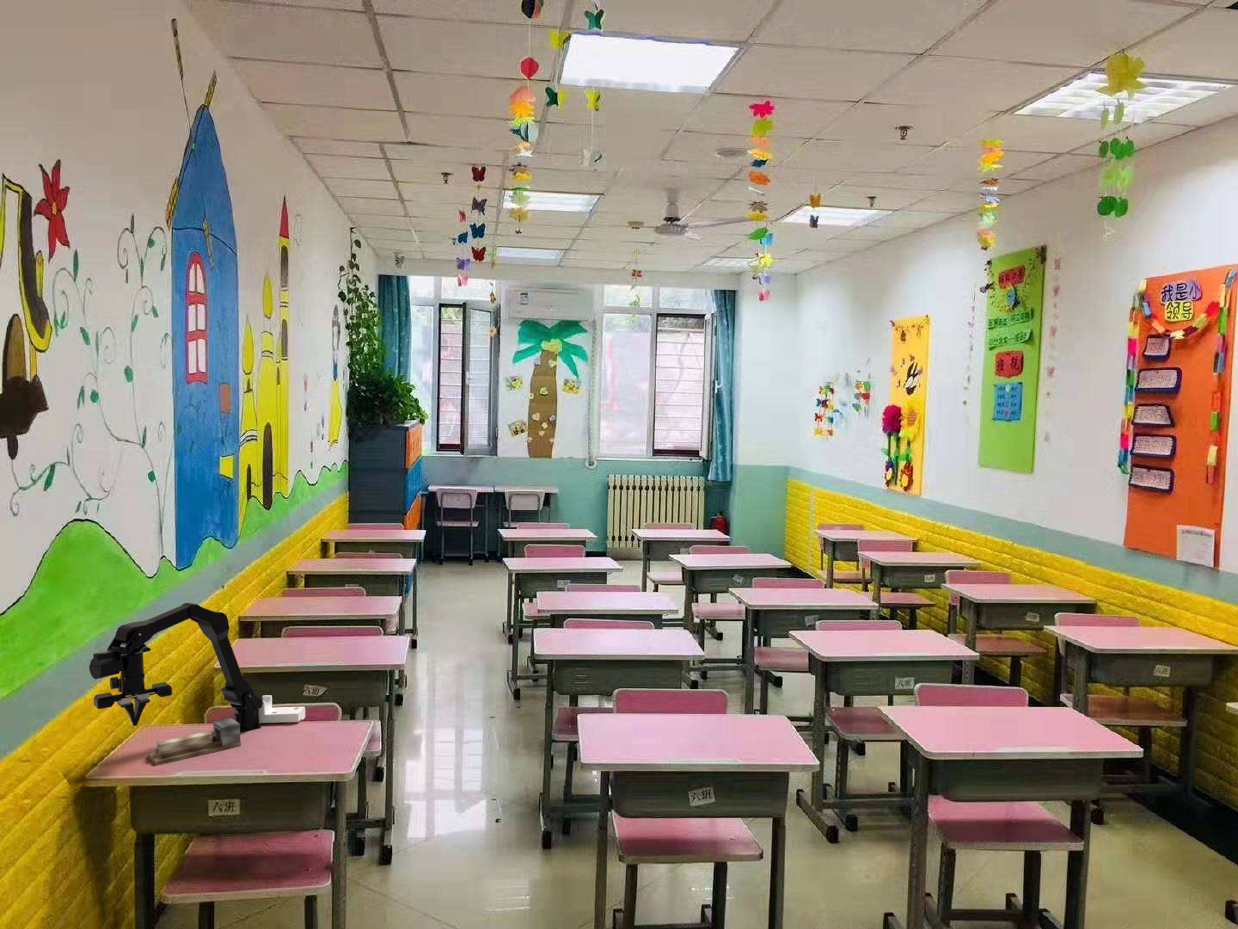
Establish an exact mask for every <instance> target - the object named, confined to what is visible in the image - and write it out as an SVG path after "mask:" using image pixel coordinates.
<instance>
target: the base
mask: <svg viewBox="0 0 1238 929" xmlns="http://www.w3.org/2000/svg"><path fill="white" fill-rule="evenodd" d="M212 724H213V727H212V728H213V735H212V743H207V744H203V745H199V746H194V747H190V748H185V749H181V750H176V751H172V752H167V753H163V754H161V757H160V756H159V755H158V748H156V749H155V750H156V751H153V752H148V753H147V758H148V759H149V760H150V761H151V762H152V763H153V764H154V765H155V766H160V765H163V764H164V763H165V764H169V763H173V762H177V760H178V761H182V760H185V759H191V758H194V757H198V756H203V755H207V754H212V753H216V752H220V751H225V750H228V749H234V748H238V747H241V746H242V741H241V732H240V724H239V723H238V722H236V721H235V720H234V719H233V718H232V717H225V718H222V719H216V720H213V722H212ZM172 761H173V762H172ZM168 762H169V763H168ZM159 764H160V765H159ZM165 764H164V765H165Z"/></svg>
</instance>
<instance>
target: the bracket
mask: <svg viewBox="0 0 1238 929" xmlns="http://www.w3.org/2000/svg"><path fill="white" fill-rule="evenodd" d="M272 696H273V695H269V694H268V695H267V694H265V695H262V699H261V700H262V701H263V704H262V708H260V709H259V724H265V723H266V724H268V723H269V724H270V723H271V724H273V723H299V722H300V721H303V720H304V719H305V718H306V706H286V707H285V706H284V707H281V706H280V707H279V706H278V707H273V697H272Z"/></svg>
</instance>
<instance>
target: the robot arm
mask: <svg viewBox="0 0 1238 929" xmlns="http://www.w3.org/2000/svg"><path fill="white" fill-rule="evenodd" d="M188 620H191V621H193V622H194V623H196V624H198V627H199V628H200V629H199V630H200V631H201V632H202V634H204V636H205V637H206V638H207V639H208V640H210V642H211V644H212V647H213V651H214V653H215V655H216V658H217V660H218V664H219V666H220V669H221V671H222V674H223V676H224V680H225V685H224V687H222V688H221V690H220V691H221V693H222V694H223V700H224V701H227V702H228V704H230V707H231V708H232V709H234V713H233V718H232V719H234V720H235V721H236V722H238V723H239V724H240V733H241V732H246V731H250V730H251V731H252V730H255V729H259V728H260V729H261V728H262V725H261V723H259V709H260V708H262V704H263V701H262V699H261V698H260V697H258V696H257V695H256V692H255V690H254V688H253V687H252V686H251V683H250V682H249V681H248V680H247V678H245V677H244V676H243V674H242V671H241V669H240V666H239V662H238V660H237V658H236V655H235V652H234V650H233V646H232V644H231V642H230V638H229V631H230V624H229V618H228V616H227V614H226V613H224V612H221V611H214V610H210V609H208V608H205V607H202V606H201V605H199V604H197V603H193V602H184V603H183V604H181V605H179V606H177V607H175V608H172V609H170V610H167V611H165V612H163V613H160V614H159V615H156V616H154V617H153V616H152V617H151V618H149V619H146V620H141V621H133V622H129V623H125V624H122V625H120V626H119V627H117V630H116V632H115V635H114V638H112V641H110V644H109V646H108V647H107V649H106V651H102V652H95V653H93V656H92V657H93V658H92V659H91V660H90V663H89V665H88V667H89V668H88V669H89V673H90V675H91V677H92V678H93V679H94V680H99V679H103V678H107V677H110V678H109V688H110V690H116V689H117V692H118V693H117V694H112V693H111V692H110V691H108V692H104V693H99V694H95V696H94V697H93V706H94V707H95V708H96V709H97V710H102V709H108V708H112V707H113V706H114V704H115V703H117V705H118V706H119V707H120V708H124V709H125V711H126V712H127V715H128V717H129V720H130V723H131V725H132V726H133V727H137V726H138V723H139V721H140V719H141V716H142V714H143V712H144V709H145V708H146V706H147V704H149V703H150V702H151V700H150V698H149V697H150V696H153V695H157V696H158V697H160V698H165V697H170V696H172V695H173V688H172V686H171V685H170V684H169V683H167V682H165V681H162V682H158V683H153V684H152V685H151V687H150V688H146V687H145V686H146V684H145V677H146V676H145V675H146V674H145V666H144V665H145V664H144V653H148V652H150V651H151V650H152V648H150V647H149V646H147V645H146V643H147V642H149V641H150V640H151V639H152V637H154V636H155V635H156V634H158V633H160V632H163V631H165V630H167V629H169V628H171V627H174V626H176V625H178V624H180V623H182V622H185V621H188ZM118 674H120V675H119V676H120V678H119V677H118V676H115V675H118ZM111 676H113V677H111ZM132 700H133V701H134V702H132Z"/></svg>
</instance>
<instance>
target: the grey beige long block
mask: <svg viewBox="0 0 1238 929" xmlns="http://www.w3.org/2000/svg"><path fill="white" fill-rule="evenodd" d="M212 736H213V733H212V732H211V731H210V730H208V731H203V732H199V733H194V734H189V735H185V736H181V737H180V736H179V737H176V738H171V739H167V740H162V741H157V743H156V744H157V745H156V746H157V748H156V749H158V755H159V756H160V757H161V754H163V753H167V752H172V751H176V750H181V749H185V748H190V747H194V746H199V745H203V744H207V743H212Z"/></svg>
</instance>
